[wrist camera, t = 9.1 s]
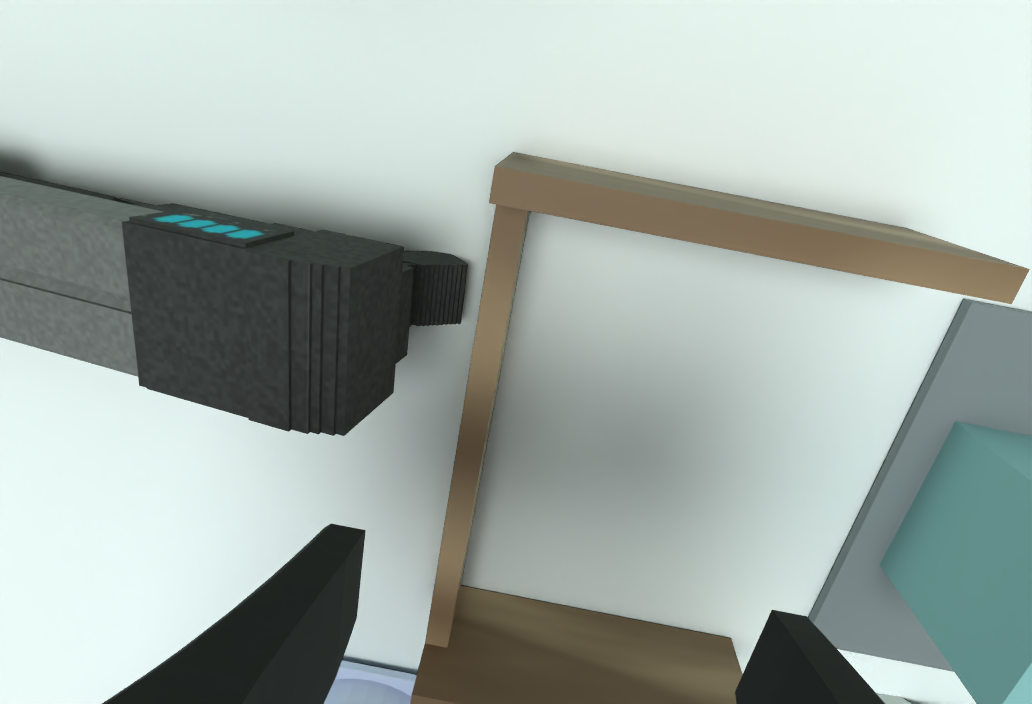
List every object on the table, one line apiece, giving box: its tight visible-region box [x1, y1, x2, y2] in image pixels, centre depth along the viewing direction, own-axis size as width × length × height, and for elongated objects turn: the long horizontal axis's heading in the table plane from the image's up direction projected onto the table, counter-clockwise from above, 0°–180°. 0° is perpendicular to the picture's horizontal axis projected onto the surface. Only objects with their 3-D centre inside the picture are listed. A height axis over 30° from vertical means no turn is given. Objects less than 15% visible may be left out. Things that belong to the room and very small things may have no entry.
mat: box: [809, 299, 1032, 672], centre depth 21 cm, size 14×7×1 cm, turn 170°
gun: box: [0, 172, 467, 436], centre depth 18 cm, size 4×20×10 cm, turn 82°
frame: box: [410, 152, 1030, 704], centre depth 19 cm, size 17×12×5 cm
